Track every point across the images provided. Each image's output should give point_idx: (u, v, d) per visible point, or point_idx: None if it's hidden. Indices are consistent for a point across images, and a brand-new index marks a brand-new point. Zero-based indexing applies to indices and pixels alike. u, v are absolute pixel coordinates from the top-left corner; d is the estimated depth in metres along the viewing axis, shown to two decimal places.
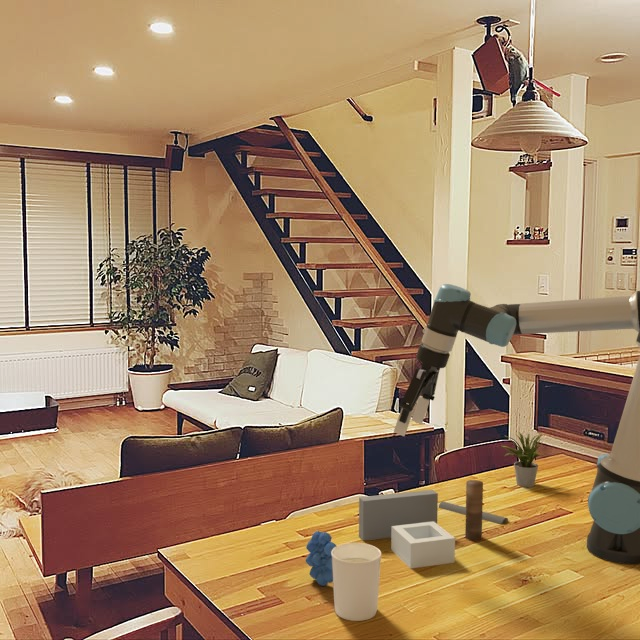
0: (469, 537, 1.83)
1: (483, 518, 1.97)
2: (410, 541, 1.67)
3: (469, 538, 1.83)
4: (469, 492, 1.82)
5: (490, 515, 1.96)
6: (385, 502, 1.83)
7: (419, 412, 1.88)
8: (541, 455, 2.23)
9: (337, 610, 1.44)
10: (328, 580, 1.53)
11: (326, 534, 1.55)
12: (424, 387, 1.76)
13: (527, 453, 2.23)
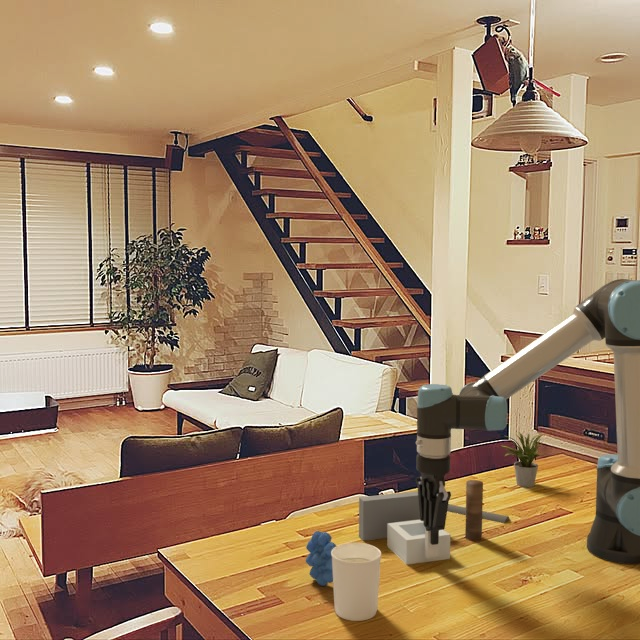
0: (469, 537, 1.83)
1: (485, 517, 1.97)
2: (406, 537, 1.69)
3: (469, 538, 1.83)
4: (469, 492, 1.82)
5: (492, 514, 1.97)
6: (385, 502, 1.83)
7: None
8: (541, 455, 2.23)
9: (337, 610, 1.44)
10: (328, 580, 1.53)
11: (326, 534, 1.55)
12: None
13: (527, 453, 2.23)
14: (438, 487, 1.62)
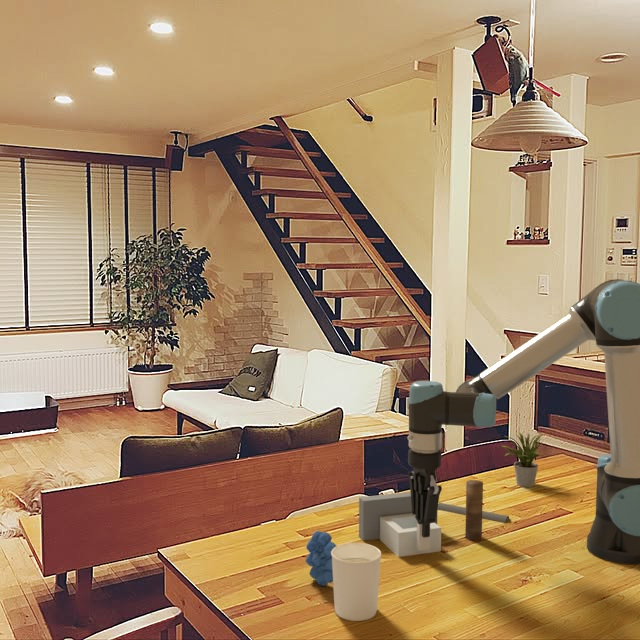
0: (469, 537, 1.83)
1: (485, 517, 1.97)
2: (398, 530, 1.73)
3: (469, 538, 1.83)
4: (469, 492, 1.82)
5: (492, 514, 1.97)
6: (385, 502, 1.83)
7: None
8: (541, 455, 2.23)
9: (337, 610, 1.44)
10: (328, 580, 1.53)
11: (326, 534, 1.55)
12: None
13: (527, 453, 2.23)
14: (429, 481, 1.66)
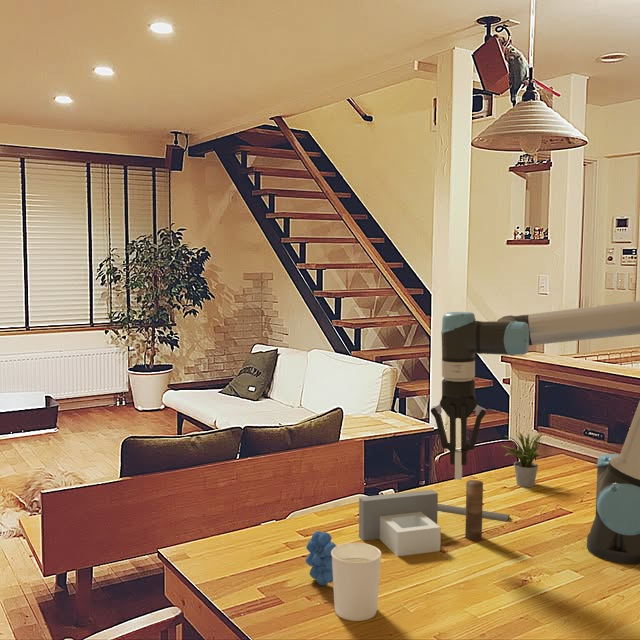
0: (469, 537, 1.83)
1: (486, 517, 1.97)
2: (397, 530, 1.73)
3: (469, 538, 1.83)
4: (469, 492, 1.82)
5: (493, 513, 1.98)
6: (385, 502, 1.83)
7: None
8: (541, 455, 2.23)
9: (337, 610, 1.44)
10: (328, 580, 1.53)
11: (326, 534, 1.55)
12: None
13: (527, 453, 2.23)
14: (475, 406, 1.71)
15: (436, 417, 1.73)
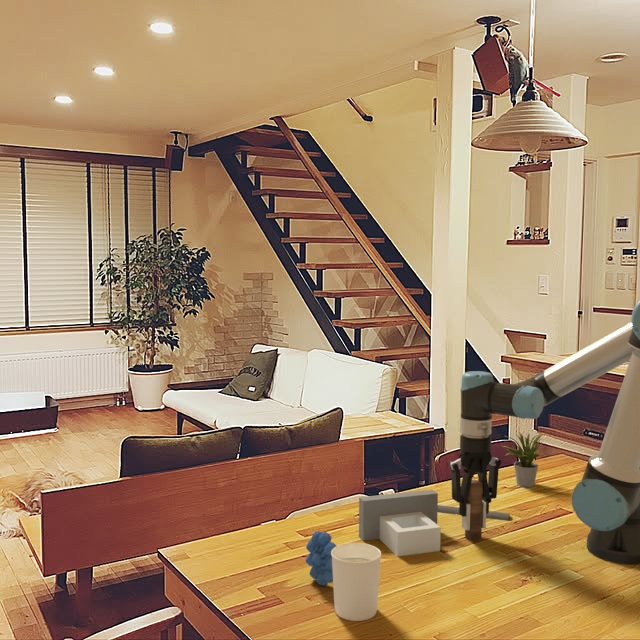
0: (469, 537, 1.83)
1: (487, 516, 1.98)
2: (397, 530, 1.73)
3: (469, 538, 1.83)
4: (469, 492, 1.82)
5: (493, 513, 1.98)
6: (385, 502, 1.83)
7: None
8: (541, 455, 2.22)
9: (337, 610, 1.44)
10: (328, 580, 1.53)
11: (326, 534, 1.55)
12: None
13: (527, 453, 2.23)
14: None
15: (457, 472, 1.80)
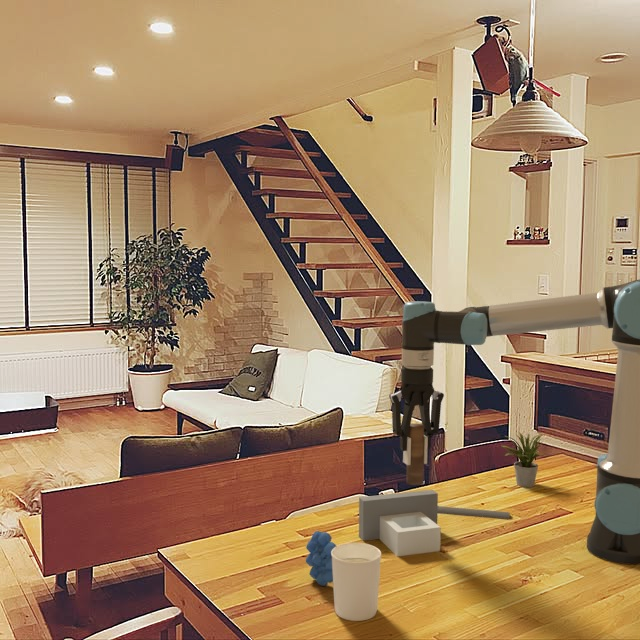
0: (409, 481, 1.77)
1: (488, 516, 1.98)
2: (397, 530, 1.73)
3: (409, 482, 1.77)
4: (409, 435, 1.76)
5: (494, 512, 1.99)
6: (385, 502, 1.83)
7: None
8: (541, 455, 2.23)
9: (337, 610, 1.44)
10: (328, 580, 1.53)
11: (326, 534, 1.55)
12: None
13: (527, 453, 2.23)
14: (433, 392, 1.77)
15: (397, 404, 1.74)
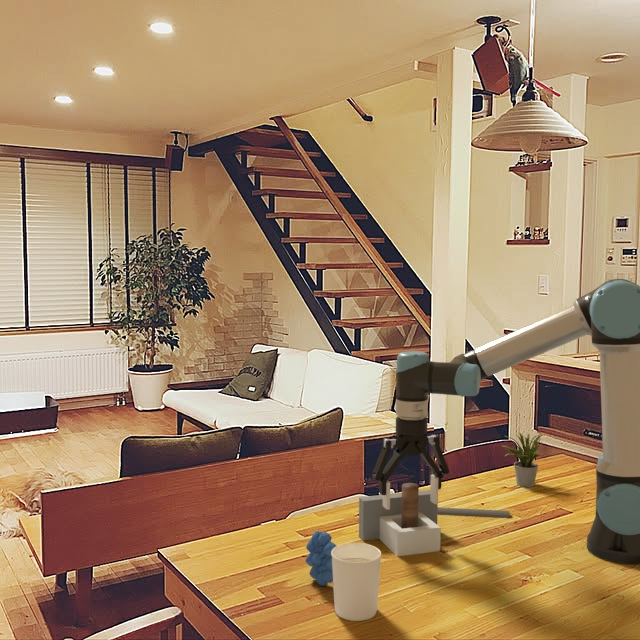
0: None
1: (489, 515, 1.98)
2: (397, 530, 1.73)
3: None
4: (404, 495, 1.77)
5: (494, 511, 1.99)
6: None
7: None
8: (541, 455, 2.23)
9: (337, 610, 1.44)
10: (328, 580, 1.53)
11: (326, 534, 1.55)
12: None
13: (527, 453, 2.23)
14: (428, 439, 1.78)
15: (387, 450, 1.74)
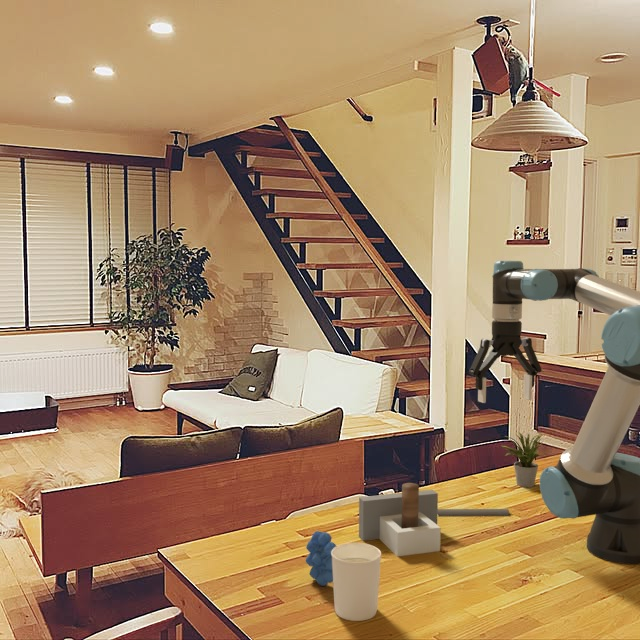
0: None
1: (489, 515, 1.99)
2: (397, 530, 1.73)
3: None
4: (404, 495, 1.77)
5: (494, 510, 2.00)
6: (385, 502, 1.83)
7: None
8: (541, 455, 2.23)
9: (337, 610, 1.44)
10: (328, 580, 1.53)
11: (326, 534, 1.55)
12: None
13: (527, 453, 2.23)
14: None
15: (485, 348, 1.90)
